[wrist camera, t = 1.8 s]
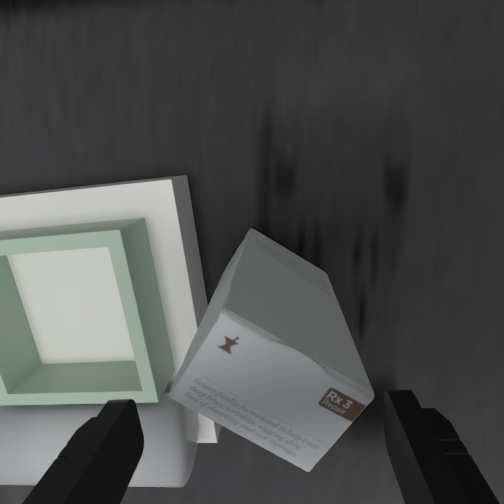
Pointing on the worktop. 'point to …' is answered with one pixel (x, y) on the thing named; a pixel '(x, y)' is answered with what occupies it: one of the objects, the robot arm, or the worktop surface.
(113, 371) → the green piece
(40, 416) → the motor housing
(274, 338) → the skincare box
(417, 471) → the robot arm
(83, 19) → the worktop surface
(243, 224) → the worktop surface
